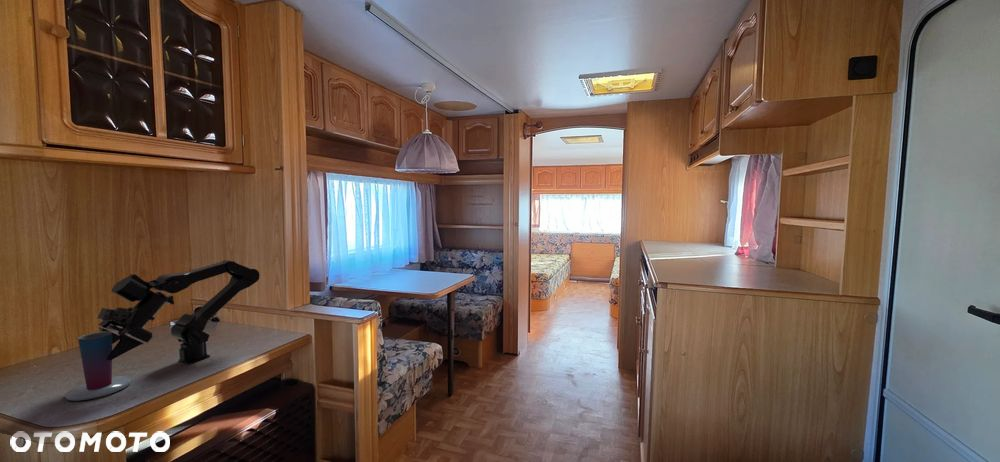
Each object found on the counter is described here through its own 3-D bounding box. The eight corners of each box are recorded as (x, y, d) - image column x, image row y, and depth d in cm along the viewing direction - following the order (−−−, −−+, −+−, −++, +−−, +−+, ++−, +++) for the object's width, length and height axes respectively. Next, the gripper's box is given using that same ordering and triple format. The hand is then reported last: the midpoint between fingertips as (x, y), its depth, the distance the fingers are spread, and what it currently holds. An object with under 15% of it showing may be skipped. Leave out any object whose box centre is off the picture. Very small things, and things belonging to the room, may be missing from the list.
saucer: (115, 377, 119) (114, 373, 119) (141, 383, 115) (140, 379, 115) (55, 397, 107) (55, 393, 107) (82, 405, 103) (81, 401, 103)
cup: (119, 378, 116) (116, 329, 115) (111, 387, 110) (107, 336, 109) (88, 383, 112) (84, 333, 111) (77, 393, 106) (73, 340, 105)
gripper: (104, 293, 118) (55, 339, 109) (135, 299, 110) (85, 350, 101) (139, 311, 126) (96, 356, 117) (170, 318, 118) (127, 367, 109)
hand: (100, 357), depth 111 cm, fingers open, 9 cm apart
